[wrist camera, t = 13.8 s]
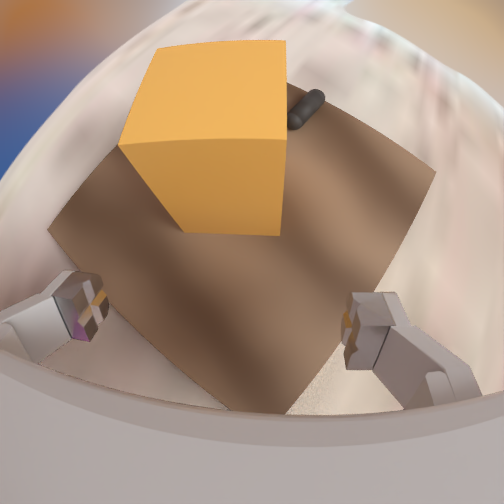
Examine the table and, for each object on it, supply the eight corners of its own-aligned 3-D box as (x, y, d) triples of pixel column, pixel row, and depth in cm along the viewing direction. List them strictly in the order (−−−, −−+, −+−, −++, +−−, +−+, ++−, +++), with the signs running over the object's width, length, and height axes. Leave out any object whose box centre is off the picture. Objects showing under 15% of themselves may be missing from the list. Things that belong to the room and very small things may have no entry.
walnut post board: (267, 426, 14) (264, 484, 7) (59, 236, 18) (-8, 196, 11) (427, 182, 17) (478, 121, 11) (221, 68, 21) (208, -1, 14)
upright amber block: (279, 236, 15) (286, 139, 8) (184, 232, 16) (117, 145, 8) (281, 154, 17) (285, 40, 9) (196, 153, 17) (157, 48, 9)
